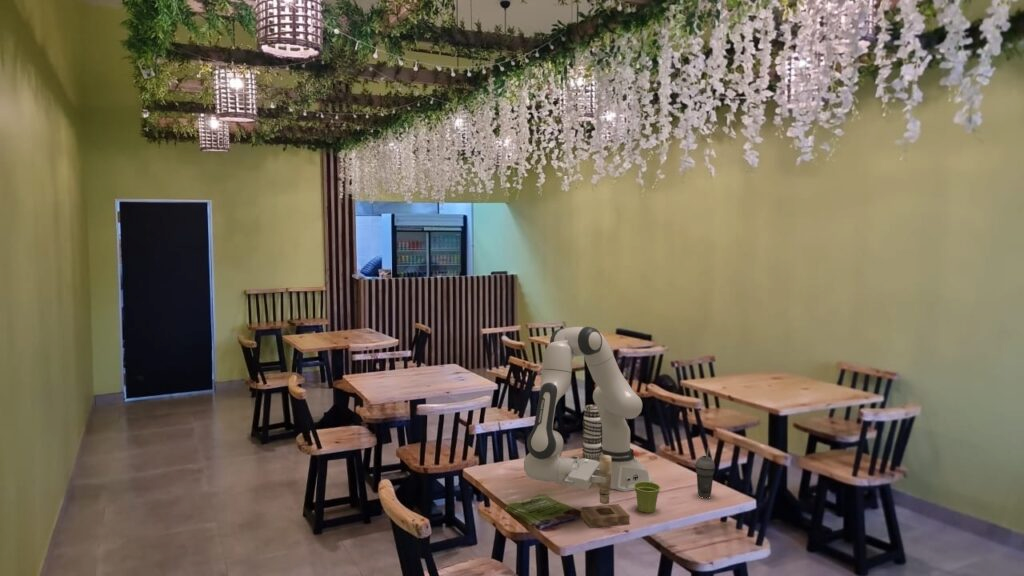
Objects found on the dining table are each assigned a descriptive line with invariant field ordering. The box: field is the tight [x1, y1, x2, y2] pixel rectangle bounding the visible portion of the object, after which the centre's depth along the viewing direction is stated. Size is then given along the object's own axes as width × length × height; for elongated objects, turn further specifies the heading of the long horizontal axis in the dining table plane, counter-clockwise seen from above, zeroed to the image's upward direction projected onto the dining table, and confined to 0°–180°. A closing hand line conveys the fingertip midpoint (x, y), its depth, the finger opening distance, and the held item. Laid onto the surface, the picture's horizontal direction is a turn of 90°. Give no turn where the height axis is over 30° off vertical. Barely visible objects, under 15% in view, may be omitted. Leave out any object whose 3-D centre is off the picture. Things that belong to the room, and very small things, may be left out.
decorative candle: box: [581, 404, 602, 462], centre depth 281 cm, size 9×9×25 cm
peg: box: [598, 455, 612, 505], centre depth 220 cm, size 4×4×16 cm
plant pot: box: [634, 482, 661, 514], centre depth 229 cm, size 9×9×9 cm
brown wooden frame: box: [580, 503, 631, 529], centre depth 221 cm, size 14×10×3 cm
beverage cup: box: [694, 445, 716, 499], centre depth 242 cm, size 7×7×20 cm
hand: (607, 476), depth 220 cm, fingers closed on peg, 4 cm apart
